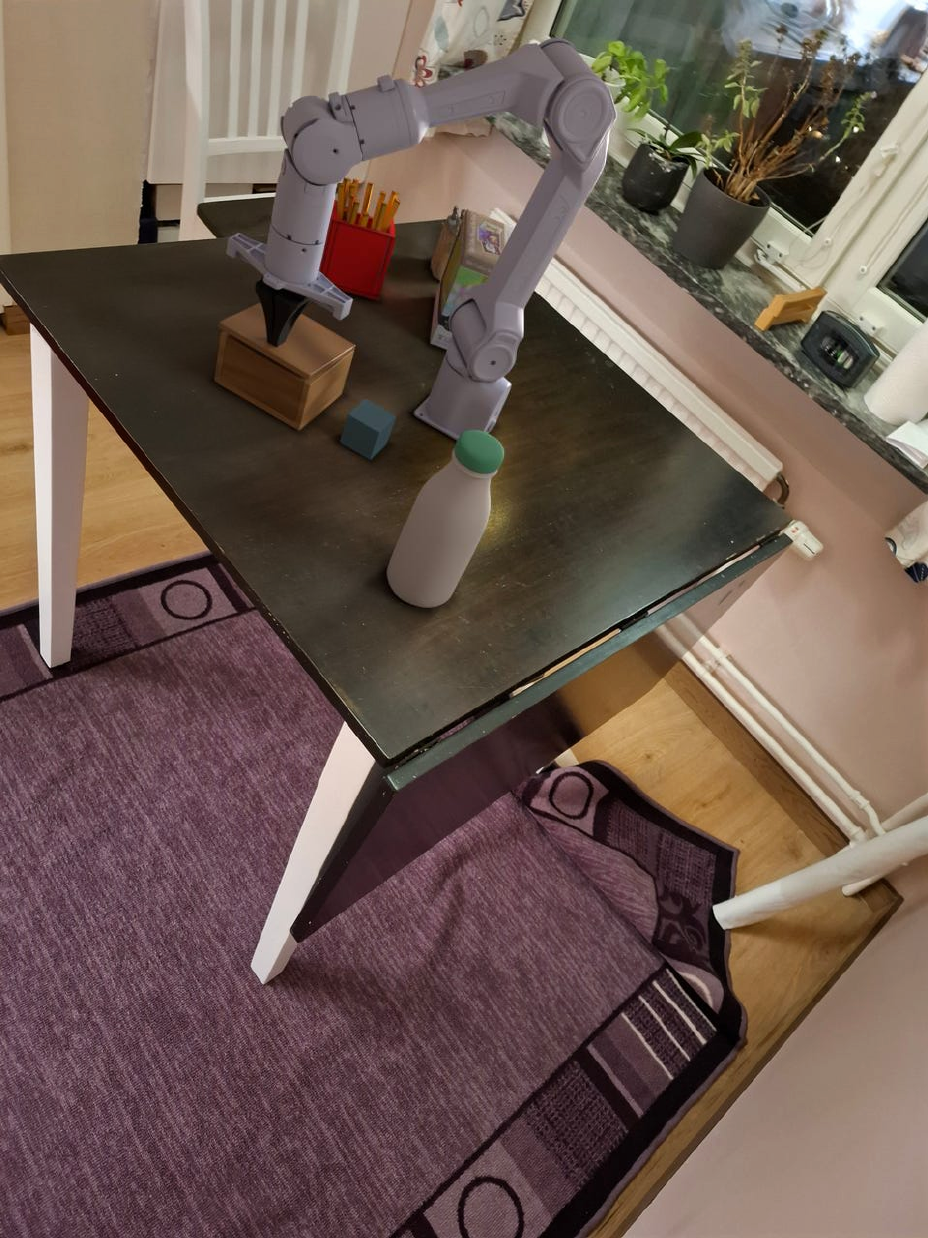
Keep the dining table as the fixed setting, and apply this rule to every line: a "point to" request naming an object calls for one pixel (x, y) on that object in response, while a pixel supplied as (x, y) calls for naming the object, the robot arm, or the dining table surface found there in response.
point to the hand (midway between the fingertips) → (276, 341)
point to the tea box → (467, 268)
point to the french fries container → (359, 241)
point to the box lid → (290, 342)
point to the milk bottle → (446, 523)
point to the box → (278, 382)
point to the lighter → (446, 242)
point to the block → (367, 429)
